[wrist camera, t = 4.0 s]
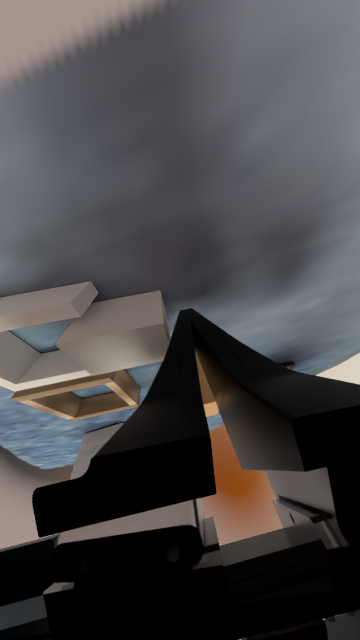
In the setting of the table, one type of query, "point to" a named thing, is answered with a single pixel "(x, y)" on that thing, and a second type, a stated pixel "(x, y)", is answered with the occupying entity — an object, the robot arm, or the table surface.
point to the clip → (34, 309)
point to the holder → (75, 408)
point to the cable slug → (118, 334)
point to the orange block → (206, 392)
